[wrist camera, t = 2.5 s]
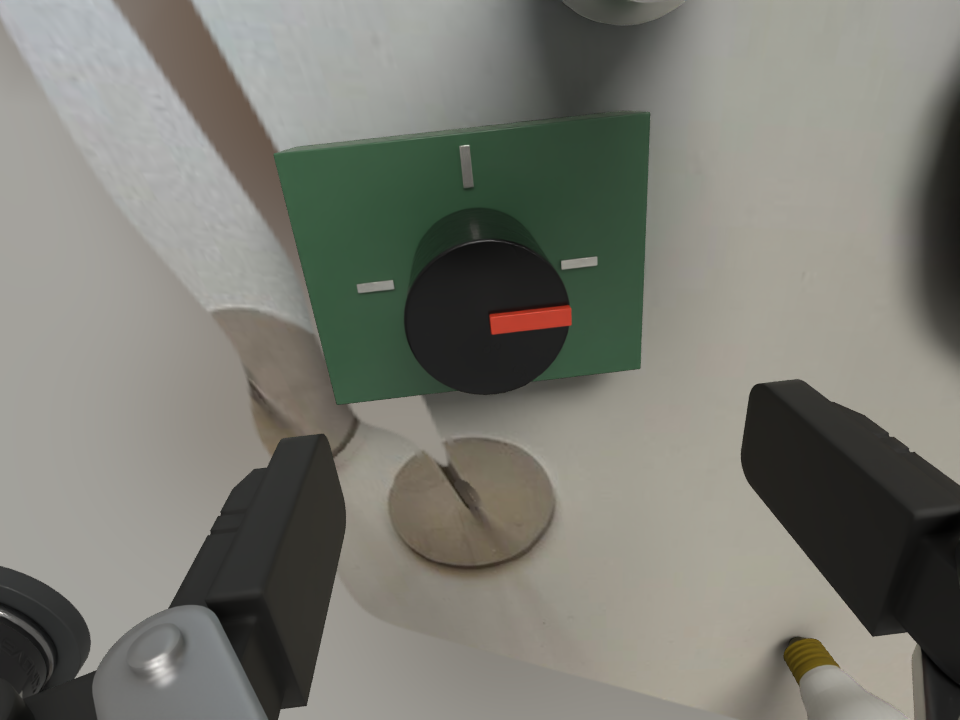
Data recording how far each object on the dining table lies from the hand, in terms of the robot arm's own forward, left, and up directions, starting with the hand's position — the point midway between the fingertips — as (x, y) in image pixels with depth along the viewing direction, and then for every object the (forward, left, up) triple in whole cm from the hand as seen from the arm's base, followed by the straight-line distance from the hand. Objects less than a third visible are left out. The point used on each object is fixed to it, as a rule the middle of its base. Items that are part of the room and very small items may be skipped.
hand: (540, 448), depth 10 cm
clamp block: (0, 0, -14) cm, 14 cm away
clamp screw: (-1, 0, -11) cm, 11 cm away
